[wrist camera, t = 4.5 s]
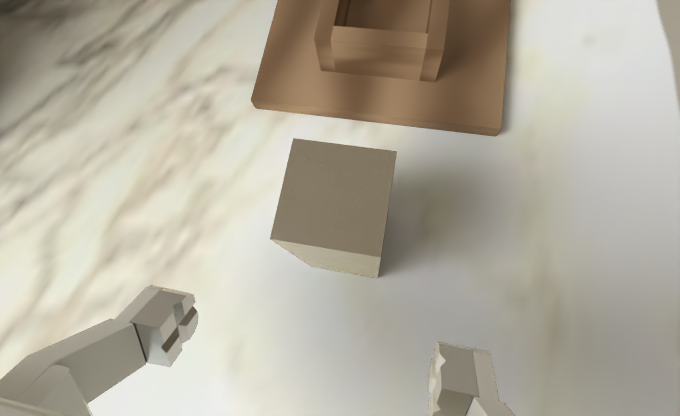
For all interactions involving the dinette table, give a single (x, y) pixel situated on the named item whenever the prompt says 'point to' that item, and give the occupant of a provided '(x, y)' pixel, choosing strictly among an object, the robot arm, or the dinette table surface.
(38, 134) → the dinette table surface
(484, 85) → the wooden slotted tray
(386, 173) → the block
